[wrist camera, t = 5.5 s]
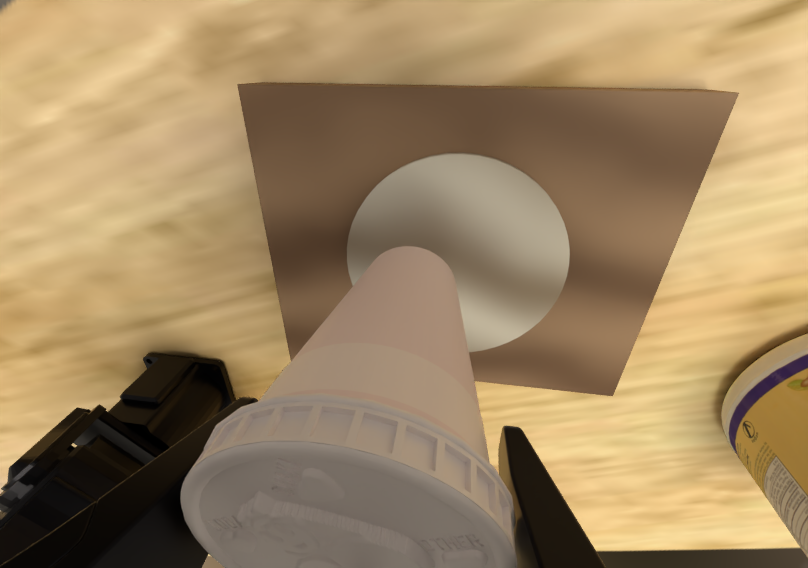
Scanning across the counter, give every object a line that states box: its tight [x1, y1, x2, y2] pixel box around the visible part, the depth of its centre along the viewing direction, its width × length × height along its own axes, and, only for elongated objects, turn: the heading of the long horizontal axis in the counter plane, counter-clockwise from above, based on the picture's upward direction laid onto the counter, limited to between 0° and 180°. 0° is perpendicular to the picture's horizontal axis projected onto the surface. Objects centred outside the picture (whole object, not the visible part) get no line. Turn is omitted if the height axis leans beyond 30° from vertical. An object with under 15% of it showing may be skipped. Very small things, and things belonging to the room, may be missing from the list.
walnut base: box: [237, 83, 739, 396], centre depth 20 cm, size 16×20×3 cm
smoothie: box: [180, 246, 517, 568], centre depth 9 cm, size 6×6×14 cm
